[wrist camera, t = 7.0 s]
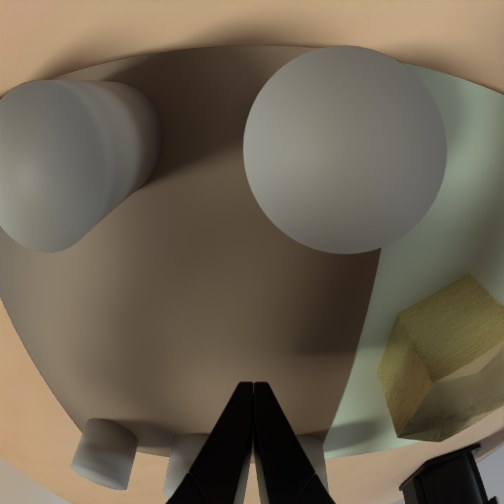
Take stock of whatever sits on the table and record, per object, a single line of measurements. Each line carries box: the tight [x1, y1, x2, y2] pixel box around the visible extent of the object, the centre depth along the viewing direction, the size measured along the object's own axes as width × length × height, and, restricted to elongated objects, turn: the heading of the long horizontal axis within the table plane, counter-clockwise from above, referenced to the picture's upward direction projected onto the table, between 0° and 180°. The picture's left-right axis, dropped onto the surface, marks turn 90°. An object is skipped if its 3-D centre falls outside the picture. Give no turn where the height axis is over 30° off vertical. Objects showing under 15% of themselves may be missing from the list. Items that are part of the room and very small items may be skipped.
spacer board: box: [0, 46, 504, 497], centre depth 9 cm, size 20×18×4 cm
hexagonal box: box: [376, 272, 504, 442], centre depth 8 cm, size 5×6×3 cm
